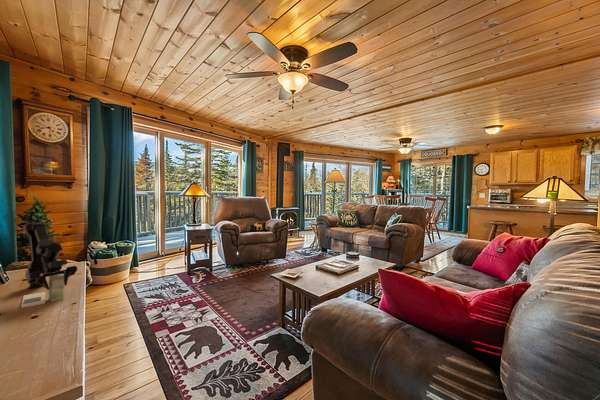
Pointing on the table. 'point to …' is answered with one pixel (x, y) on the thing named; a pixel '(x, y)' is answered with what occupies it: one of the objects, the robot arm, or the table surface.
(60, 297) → the post
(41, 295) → the baseplate
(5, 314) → the table surface
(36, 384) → the table surface
